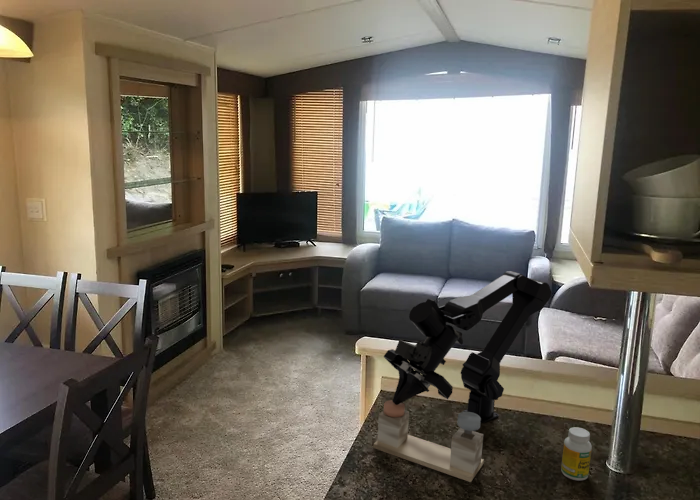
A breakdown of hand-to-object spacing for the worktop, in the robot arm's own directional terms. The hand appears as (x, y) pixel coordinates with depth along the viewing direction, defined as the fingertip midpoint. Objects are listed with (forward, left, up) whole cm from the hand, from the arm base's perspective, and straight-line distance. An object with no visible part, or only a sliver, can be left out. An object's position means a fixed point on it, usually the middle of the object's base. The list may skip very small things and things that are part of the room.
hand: (394, 403), depth 126 cm
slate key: (-6, +16, -2) cm, 17 cm away
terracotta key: (0, 0, -4) cm, 5 cm away
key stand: (-3, +8, -10) cm, 13 cm away
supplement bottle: (-24, +31, -10) cm, 40 cm away
